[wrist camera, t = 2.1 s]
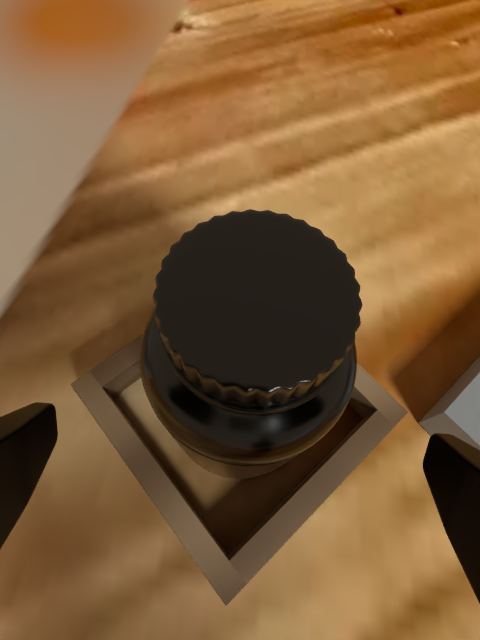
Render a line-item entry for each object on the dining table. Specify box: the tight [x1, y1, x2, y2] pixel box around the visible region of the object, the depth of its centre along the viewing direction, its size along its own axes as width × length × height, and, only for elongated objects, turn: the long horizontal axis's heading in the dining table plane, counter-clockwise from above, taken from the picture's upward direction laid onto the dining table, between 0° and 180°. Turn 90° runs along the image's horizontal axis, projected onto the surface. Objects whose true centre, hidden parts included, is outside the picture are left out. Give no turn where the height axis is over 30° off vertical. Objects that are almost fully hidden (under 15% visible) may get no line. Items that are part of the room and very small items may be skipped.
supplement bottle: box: [140, 209, 362, 479], centre depth 14 cm, size 7×7×12 cm
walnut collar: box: [71, 334, 408, 605], centre depth 18 cm, size 11×11×2 cm
